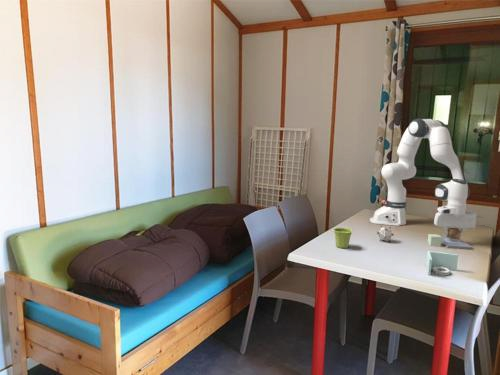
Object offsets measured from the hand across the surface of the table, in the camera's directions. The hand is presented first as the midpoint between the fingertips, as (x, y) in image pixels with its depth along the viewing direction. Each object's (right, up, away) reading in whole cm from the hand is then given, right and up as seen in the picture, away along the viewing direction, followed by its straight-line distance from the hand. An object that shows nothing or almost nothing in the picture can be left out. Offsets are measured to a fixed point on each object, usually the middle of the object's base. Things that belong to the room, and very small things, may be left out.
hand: (453, 235), depth 205 cm
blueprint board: (0, -4, +1) cm, 4 cm away
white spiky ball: (-36, -4, +2) cm, 37 cm away
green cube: (-12, -5, -3) cm, 13 cm away
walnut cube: (0, -2, 0) cm, 2 cm away
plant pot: (-62, -5, -10) cm, 63 cm away
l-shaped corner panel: (-27, -11, -42) cm, 52 cm away
